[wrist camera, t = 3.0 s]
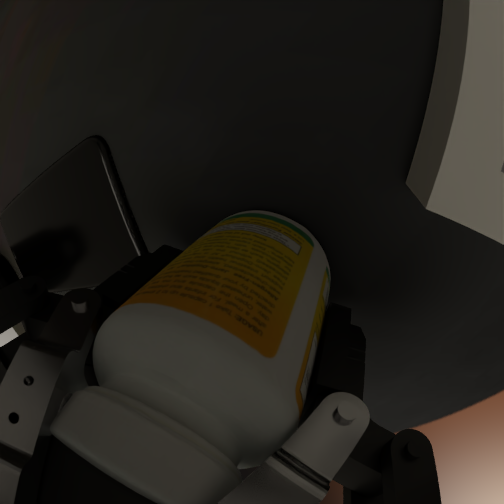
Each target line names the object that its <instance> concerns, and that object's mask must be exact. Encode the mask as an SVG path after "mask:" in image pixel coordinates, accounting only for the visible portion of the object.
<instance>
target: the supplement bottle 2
mask: <svg viewBox="0 0 504 504" xmlns="http://www.w3.org/2000/svg"><path fill="white" fill-rule="evenodd" d="M330 280H331V278H330V268H329V264H328V261H327V258H326V255H325V253H324V251H323V249H322V247H321V245H320V244H319V242H318V241H317V240H316V239H315V237H314V236H313V235H312V234H311V233H310V232H309V231H308V230H307V229H306V228H305V227H303V226H302V225H300V224H298V223H297V222H295V221H293V220H291V219H289V218H287V217H285V216H282V215H279V214H276V213H273V212H268V211H259V210H253V211H244V212H240V213H237V214H234V215H231V216H229V217H227V218H225V219H224V220H222V221H221V222H219V223H218V224H217V225H216V226H214V227H213V228H211V229H210V230H209V231H208V232H207V233H205V234H204V235H203V236H202V237H200V238H199V239H198V240H196V241H195V242H194V243H193V244H192V245H191V246H189V247H188V248H187V249H186V250H185V251H183V252H182V253H181V254H180V255H179V256H178V257H176V258H175V259H174V260H173V261H172V262H171V263H169V264H168V265H167V266H166V267H165V268H164V269H162V270H161V271H160V272H159V273H158V274H157V275H156V276H155V277H153V278H152V279H151V280H150V281H149V282H148V283H146V284H145V285H144V286H143V287H142V288H140V289H139V290H138V291H137V292H136V293H135V294H134V295H133V296H131V297H130V298H129V299H128V300H127V301H126V302H125V303H123V304H122V305H121V306H120V307H119V308H118V309H117V310H116V311H114V312H113V313H112V314H111V315H110V316H109V317H108V318H107V320H106V321H105V322H104V323H103V324H102V326H101V327H100V329H99V331H98V333H97V335H96V338H95V341H94V346H93V367H94V372H95V375H96V378H97V381H98V383H99V386H88V387H86V388H85V389H84V390H81V391H77V392H75V393H74V394H73V395H72V396H71V398H70V399H69V401H68V402H67V403H66V404H65V405H64V406H63V408H62V409H61V410H60V411H59V412H58V414H57V416H56V417H55V418H54V420H53V422H52V423H51V425H50V431H51V433H52V434H53V435H54V436H55V437H56V438H57V439H58V440H60V441H61V442H62V443H63V444H65V445H66V446H67V447H69V448H70V449H71V450H73V451H74V452H75V453H77V454H78V455H79V456H81V457H82V458H84V459H85V460H86V461H88V462H89V463H91V464H92V465H94V466H95V467H96V468H98V469H99V470H101V471H102V472H104V473H106V474H107V475H109V476H110V477H112V478H113V479H115V480H117V481H118V482H120V483H122V484H123V485H125V486H127V487H128V488H130V489H132V490H133V491H135V492H137V493H139V494H140V495H142V496H144V497H146V498H148V499H149V500H151V501H153V502H155V503H157V504H217V503H218V502H219V501H220V500H222V499H223V498H224V497H225V496H227V495H228V494H229V493H230V492H231V491H232V490H234V489H235V488H236V487H237V486H238V485H239V484H241V483H242V476H241V473H240V471H239V470H238V469H246V468H251V467H255V466H259V465H261V464H262V463H263V462H264V461H265V460H267V459H268V458H269V457H270V456H271V455H272V454H273V453H274V452H275V451H277V450H278V449H280V448H281V447H282V446H283V445H284V444H285V442H286V441H287V440H288V439H289V438H290V437H291V436H292V435H293V434H294V433H295V432H296V430H297V428H298V424H299V421H300V418H301V414H302V411H303V407H304V404H305V401H306V397H307V393H308V389H309V385H310V381H311V377H312V373H313V368H314V364H315V360H316V356H317V350H318V346H319V342H320V337H321V332H322V328H323V323H324V319H325V314H326V308H327V303H328V297H329V290H330Z"/></svg>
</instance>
